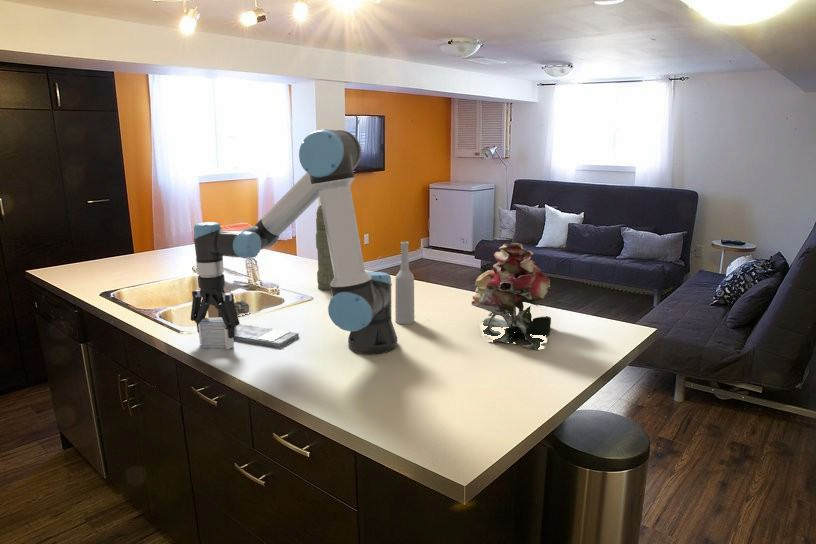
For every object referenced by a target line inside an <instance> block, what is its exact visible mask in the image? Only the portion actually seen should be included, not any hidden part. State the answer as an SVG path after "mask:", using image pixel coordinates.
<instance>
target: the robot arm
mask: <svg viewBox="0 0 816 544" xmlns="http://www.w3.org/2000/svg"><path fill="white" fill-rule="evenodd" d="M298 151H299V152H298V158H299V163H300V166H301V167H302V169H303V170H304V171H305V173H304V174H303V176H301V178H300V179H298V181H297V182H296V183H295V184H294V185H292V187H290V188H289V190H288V191H287V192H286V193H284V195H283V196H281V198H280V199H278V201H277V202H276V203H275V204H274V205H273V206H272V207H271V208H270V209H269V210H268V211H267V212H266V213H265V214H264V215H263V216H262V217H261V218H260V219H259V220H258V221H257V222H256V223H255V224H254V225H253V226H249V227H247V228H242V229H239V230H223V229H222V227H221V224H220V223H219V222H216V221H205V222H198V223H196V224H194V226H193V242H194V251H195V257H196V258H195V260H196V263H195V264H196V274H197V275H198V276H197V283H198V284H197V285H198V289H196V290H192V291H191V295H192V304H191V313H190V320H191V321H193V322H195V324H196V330H197V333H198V335H199V337H198V338H199V345H201V346H202V341H201V331H200V322H201V320H202V319H204V318H206V316H207V315H208V308H209V306H210V305H213V306H215V308H216V309H218V311H219V313H220V315H221V317H222V319H223V321H224V323H225V325H226V328H224V330H225V343H226V348H225V349H226V350H229V349H231V348H234V346H235V344H234V343H235V340H233V337H234V336H235V333H234V327H235V326H237V325H239V324H240V319H239V315H237V312H236V308H235V305H234V303H235V300H234V301H233V299H234V294H233V292H232V293H226V291H225V289H224V288H225V286H226V282H225V281H226V280H225V274H224V272H225V270H224V269H225V268H224V259H223V258H224V257H233V258H242V259H247V258H249V259H251V258H256V257H257V256H258V255H259V253H260V252H261V250H264V249H268V248H271V247H272V246H274V245H275V244H277V242H278V241H279V239H280V236H281V235H282V234H283V233H284V232H285V231H286V230H287V229H289V227H290V226H291V225H292V224H293V223H294V222H295V221H296V220H297V219H298V218H299V217H300V216H302V214H303V213H304V212H306V210H307V209H308V208H309V207H310V206H312V204H314V203H315V201H317V200H318V199H319V200H320V201H319V202H320V205H321V207H322V213H323V218H324V224H325V229H326V234H327V240H328V245H329V251H330V256H331V262H332V267H333V272H334V279H333V280H332V282H331V283H330V287H331V290H330V292H331V299H330V301H329V303H328V306H327V311H328V316H329V318H330V320H331V321H332V323H333V324H334V325H335V326H337V327H338V328H339V329H341V330H343V331H345V332H349V335H348V339H347V346H348V349H350V350H351V351H353V352H356V353H359V354H363V355H365V354H366V355H376V354H384V353H388V352H391V351H393V350H395V349H396V348H397V347H398V336H397V332H396V329H395V328H394V324H393V319H392V286H393V284H392V278H391V274H389V273H387V272H383V271H366V270H365V265H364V264H365V263H364V258H363V252H362V247H361V240H360V235H359V230H358V229H359V228H358V222H357V218H356V212H355V206H354V201H353V194H352V188H351V185H352V183H353V182H354V180H355V172H354V169H355V168H356V167H357V166H358V165H359V163H360V160H361V158H362V146H361V144H360V142H359V140H358V139H357V136H356V137H355V135H354V134H352V133H351V132H349V131H346V130H341V129H339V130H335V129H320V130H316V131H312V132H310V133H308V135H306V136H305V137H304V139H303V141H302V142H301V143H300V146H299V150H298ZM220 303H221V304H220ZM219 304H220V305H219ZM229 323H230V324H229Z"/></svg>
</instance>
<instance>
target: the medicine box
mask: <svg viewBox="0 0 816 544" xmlns="http://www.w3.org/2000/svg"><path fill="white" fill-rule="evenodd" d="M229 324H230V323H229ZM224 328H226V325H225V323H224V321H223V319H222V317H213V318H209V317H205V318H204V319H202V320H201V322H200V331H201V341H202V345H201V348H202V349H226V343H225V330H224Z"/></svg>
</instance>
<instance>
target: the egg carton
mask: <svg viewBox="0 0 816 544" xmlns="http://www.w3.org/2000/svg"><path fill="white" fill-rule="evenodd" d="M234 305H235V308H236V312H237V315H238V316H239V315H241V314H248V313H250V305H249V303H247V302H246V301H245V300H243V299H241V300H239V301H234Z"/></svg>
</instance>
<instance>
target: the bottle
mask: <svg viewBox="0 0 816 544" xmlns="http://www.w3.org/2000/svg"><path fill="white" fill-rule="evenodd" d="M400 244H401V245H400V269H399V271H398V273H396V275H395V288H394V289H395V292H394V293H395V295H394V296H395V297H394V298H395V307H394V308H395V313H394V314H395V315H394V316H395V323H396V324H399V325H404V324H405V325H411V323H412V324H413V323H415V276H414V274H413V273H412V272H411V270H410V265H409V263H410V262H409V244H410V243H409V241H401V242H400Z"/></svg>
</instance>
